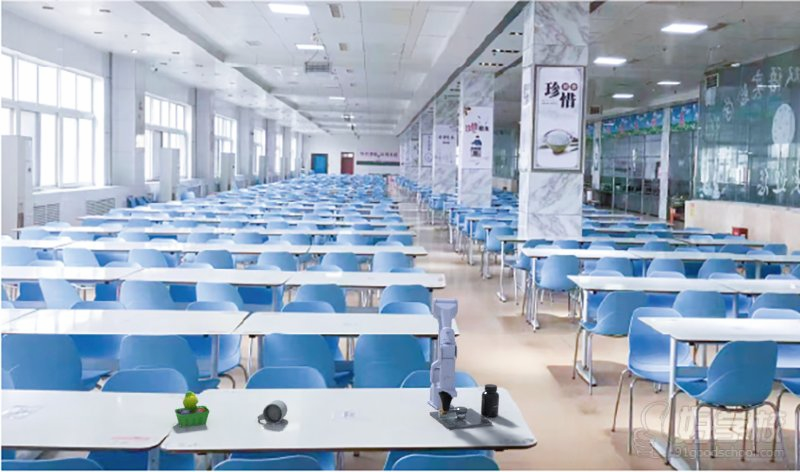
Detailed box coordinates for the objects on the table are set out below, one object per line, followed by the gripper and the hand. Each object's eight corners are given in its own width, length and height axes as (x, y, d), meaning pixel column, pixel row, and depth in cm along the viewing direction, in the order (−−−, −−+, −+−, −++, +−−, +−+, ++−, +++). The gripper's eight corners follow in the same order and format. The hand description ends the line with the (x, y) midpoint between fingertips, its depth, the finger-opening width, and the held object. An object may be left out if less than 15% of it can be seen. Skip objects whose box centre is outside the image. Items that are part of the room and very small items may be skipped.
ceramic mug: (288, 418, 295) (288, 398, 294) (282, 425, 287) (282, 404, 286) (261, 416, 296) (261, 396, 296) (254, 423, 288) (254, 403, 288)
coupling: (463, 409, 302) (464, 399, 302) (468, 413, 298) (469, 403, 297) (438, 412, 298) (438, 401, 298) (443, 415, 294) (443, 405, 294)
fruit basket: (178, 429, 279) (178, 398, 278) (173, 421, 287) (173, 391, 286) (210, 424, 285) (210, 394, 284) (204, 417, 293) (204, 388, 291)
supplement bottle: (497, 419, 302) (498, 388, 301) (479, 417, 303) (481, 387, 302) (498, 413, 309) (500, 384, 307) (481, 411, 310) (482, 382, 309)
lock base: (429, 414, 304) (430, 404, 304) (471, 410, 311) (471, 401, 311) (448, 429, 288) (449, 419, 287) (492, 425, 294) (492, 415, 294)
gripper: (429, 371, 299) (428, 405, 300) (445, 381, 285) (444, 417, 286) (446, 370, 301) (445, 404, 302) (462, 379, 288) (461, 415, 289)
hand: (445, 410), depth 295 cm, fingers closed
